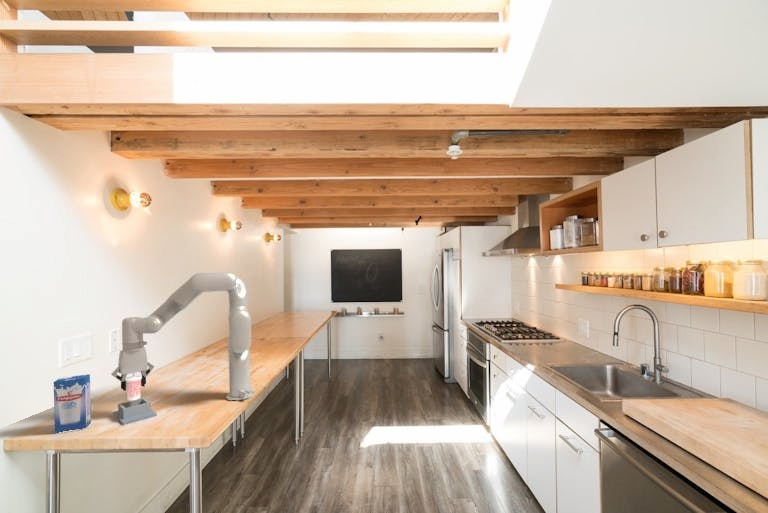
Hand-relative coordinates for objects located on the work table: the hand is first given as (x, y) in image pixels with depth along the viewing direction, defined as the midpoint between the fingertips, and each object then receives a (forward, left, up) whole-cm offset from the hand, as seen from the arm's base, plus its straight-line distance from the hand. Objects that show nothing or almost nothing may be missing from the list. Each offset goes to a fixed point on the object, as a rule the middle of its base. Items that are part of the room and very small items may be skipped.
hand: (133, 387), depth 162 cm
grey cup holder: (0, 0, -12) cm, 12 cm away
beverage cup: (0, 0, -5) cm, 5 cm away
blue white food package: (+4, +20, -12) cm, 24 cm away
